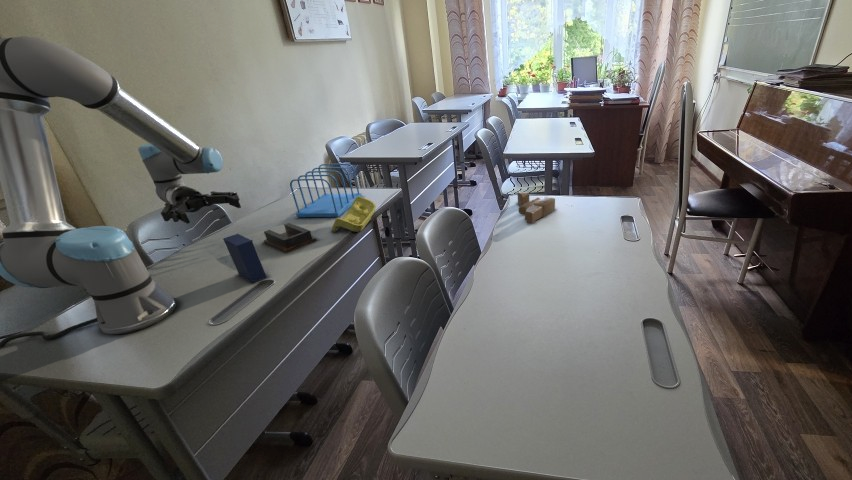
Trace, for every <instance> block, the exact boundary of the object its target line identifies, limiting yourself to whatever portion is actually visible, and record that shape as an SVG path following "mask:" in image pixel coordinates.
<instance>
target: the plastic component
mask: <svg viewBox="0 0 852 480" xmlns="http://www.w3.org/2000/svg"><path fill="white" fill-rule="evenodd" d="M376 208H377V205H376V204H375V202H373V201H372V200H370V199H368V198H365V197H363V196H362V197H360V196H358V197H356V199H355V200H354V202H353V204H352V206H350V207H349V208H348V209H347V212H346V213H345V215H344V216H343V217H342V218H341V217H336V218H335V220H334V222H333V224H332V227H331V232H333V233H335V232H337V231H338V230H339V229H340V227H341V228H343V229H346V230H348V231H351V232H354V233H360V232H363V229H364V228H365V227H366V226H367V225H368V224H369V222H370V221H371V219H372V216H373V215H374V213H375V211H376Z"/></svg>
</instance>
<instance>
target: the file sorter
mask: <svg viewBox="0 0 852 480" xmlns="http://www.w3.org/2000/svg"><path fill="white" fill-rule="evenodd" d="M326 166H327V167H326ZM342 166H348V167H350V168H351V169H352V172H353V173H352V174H353V178H354V182H355V185H356V186H355V187H356V191H357V193H356V192H354V190H353V186H352V183H351V177H350V174H349V171H348V170H347V168H346V167H342ZM337 169H341V170H344V171H345V173H346V175H347V179H348V180H347V181H348V184H349V187H350V193H349V192H347V188H346V183H345V179H344V176H343V174H342V173H341V172H340V171H338V170H337ZM315 173H317V174H315ZM322 173H337V174H338V175H339V176H340V178H341V182H342V186H343V190H344V193H340V189H339V185H338V181H337V179H336V177H335V176H333V175H332V174H322ZM302 177H303V178H302ZM309 177H312V178H309ZM315 177H319V178H315ZM323 177H330V178H331V179H333V180H334V183H335V187H336V191H337V193H333V191H332V186H331V183H330V182H329V180H327V179H325V178H323ZM296 181H297V185H298V189H299V192H300V195H301V199H302V201H303V205H304V207H303V208H302V209H300V208H299V203H298V202H297V197H296V194H295V192H294V188H293V182H296ZM301 181H305V183H306V186H307V190H308V193H309V197H310V200H311V203H309V204H308V205H307V203H306V199H305V195H304V193H303V190H302V189H303V188H302V185H301ZM309 181H313V183H314V188H315V191H316V194H317V198H316V199H315V200H314V198H313V194H312V191H311V188H310V184H309ZM317 181H320V182H321V186H322V190H323V194H322V195H320V193H319V190H318V186H317ZM324 182H325V183H327V186H328V188H329V193H327V191H326V188H325V184H324ZM289 187H290V190H291V195H292V198H293V201H294V203H295V207H296V210H297V212H296V213H295V215H296V218H340V216H341V215H343V214H344V213H345V212H346V211H348V210H349V209H350V207H351V206H352V204H353V202H354V200H355V199H356V197H358V196H360V197H363V195H362V193H361V192H360V190H359V185H358V181H357V175H356V171H355V168H354V166H353V165H352V164H350V163H322V164H320V165H319V166H318V167H314V168H313V169H312V170H309V171H307V172H305V174H302V175H299V176H298V177H297V178H295V179H294V178H293V179H291V180H290V182H289Z"/></svg>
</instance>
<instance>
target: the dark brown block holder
mask: <svg viewBox="0 0 852 480" xmlns="http://www.w3.org/2000/svg"><path fill="white" fill-rule="evenodd" d="M283 227H284V229H285V232H282V233H278V232H276V231H274V230H271V229H267V230H264V231H263V234H264V236H265V239H263V243H264V244H266V245H269V246H271V247H273V248H275V249H277V250H279V251H283V252H284V253H288V252H292V251H294V250H296V249H299V248H301V247H304V246H306V245H308V244H311V243H314V242H316V241H317V238H316V237H314V236H312V232H311V230H310V229H307V228H304V227H301V226H300V225H299V226H298V225H296V224H293V223H291V222H288V223H285V224H283Z"/></svg>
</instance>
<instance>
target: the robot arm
mask: <svg viewBox="0 0 852 480" xmlns="http://www.w3.org/2000/svg"><path fill="white" fill-rule="evenodd" d="M118 81H119V80H117V79H116V78H115V77H114V76H113V75H111V74H110V73H109V72H107V71H106V70H105V69H103V68H102V67H100V66H98V64H96V63H95V62H93V61H91V60H89V58H86V57H84V56H83V55H81V54H79V53H77V52H75V51H73V50H71V49H69V48H67V47H65V46H63V45H61V44H59V43H56V42H54V41H50V40H47V39H44V38H39V37H36V36H15V37H14V36H13V37H0V186H1V191H2V195H3V200H4V202H5V203H4V204H5V208H6V211H7V215H8V220H9V225H7V226H6V227H5V228H4V229H3V230H1V236H2V240H3V241H2V242H1V243H0V277H2V278H3V279H4V280H5V281H7V282H10V283H12V284H13V285H16V286H18V287H22V288H23V287H24V288H35V289H49V288H58V287H60V288H61V287H79V286H83V287H84V288H85V290H86V292H87V293H88V294H89V296H90V297H91V298H92V300H93V302H94V307H95V308H94V309H95V314H96V317H95V318H91V319H88V320H86V321H83V322H80V323H77V324H75V325H72V326H69V327H66V328H65V329H63V330H61V331H60V330H59V331H58V332H56V333H54V334H48V333H47V331H43V330H40V331H39V330H38V331H28V332H27V331H26V332H21V333H17V334H12V335H10V336H7V337H5V338H4V339H2V340H0V348H3V347H5V346H6V345H7V344H8V343H9V342H11V341H13V340H17V339H20V338H27V337H39V336H41V338H42V339H43V340H48V341H49V340H53V339H54V340H55V339H57V338H59V337H62V336H63V335H66V334H68V333H70V332H72V331H75V330H78V329H80V328H83V327H86V326H89V325H92V324H95V323H97V325H98V327H99V328H100V330H101V331H102V332H103V333H105V334H107V335H123V334H128V333H132V332H136V331H140V330H143V329H145V328H148V327H151V326H153V325H155V324H157V323H159V322H161V321H162V320H164V319H165V318H168V317H169V316H170V315H171V314H172V313H173V312H174V311H175V310H176V308H177V303H176V301H175V299H174V297H173V296H171V295H170V294H169V293H168V292H167V291H166V290H165V289H164V288H162V287H161V286H160V285H158V284H157V283H156V282H155V281H154V280H153V278H152V276H151V274H150V273H149V271H148V270H147V267H146V265H145V264H144V262H143V260H142V258H141V257H140V255H139V252H138V251H137V249H136V247H135V245H134V242H133V241H132V240H130V238H129V237H128V235H127V234H126V233H125V231H123V230H122V229H121V228H118V227H115V226H109V225H95V226H93V225H92V226H89V227H80V228H76V227H75V226H73V225H71V224H69V223H68V222H67V219H66V215H65V211H64V206H63V202H62V201H63V200H62V197H61V193H60V188H59V184H58V179H57V175H56V174H57V173H56V171H55V170H56V169H55V166H54V165H55V164H54V160H53V157H52V152H51V151H52V150H51V147H50V143H49V138H48V134H47V129H46V125H45V119H44V118H45V117H46V116H47V115H49V114H50V113H51V112H52V107H51V104H50V98H62V99H67V100H71V101H74V102H76V103H78V104H79V105H81V106H83V107H84V108H86V109H89V110H97V111H99V112H100V113H102V114H103V115H104V116H106V117H108V118H109V119H111V120H112V121H114V122H115V123H117V124H119V125H120V126H122V127H123V128H125V129H126V130H128V131H129V132H131V133H132V134H134V135H136V136H137V137H139V138H140V139H142V140H144V141H145V142H147V144H143V145H140V146H139V147H138V149H137V151H138V153H139V155H140V158H141V161H142V163H143V164H144V166H145V168H146V170H147V172H148V174H149V176H150V178H151V180H152V182H153V184H154V186H155V194H156V196H157V198H159V199H160V201H162V202H164V207H163V209H162V210H161V211H160V215H161V217H162V219H163V220H164V222H169V221H170V220H171V219H172V221H173V222H174V223H178V222H180V221H181V222H183V223H185V224H186V225H188V224H190V223H191V221H190V219H189V217H188V215H187V213H197V212H199V211H200V210H201V209H202V208H205V207H211V206H213V205H223V204H228V205H229V206H232V207H234V208H237V209H241V208H242V206H241V204H240V197H239V194H238V192H235V191H216V190H215V191H210V194H209V193H205V194H202V193H201V192H200V191H199V190H197V189H195V188H192V187H190V186H187V185H186V183H185V182H184V179H183V176H182V175H195V174H207V175H208V174H213V173H218V172H220V171H221V170H222V169H223V165H224V160H223V157H222V155H221V153H220V152H219V150H217V149H216V148H214V147H207V146H205V147H201V146H200V144H199V145H198V144H197V143H196V142H195V141H194V140H192V139H191V138H190V137H188V136H187V135H185V134H184V133H183V132H181V131H180V130H179V129H178V128H176V127H174V126H173V125H172V124H171V123H169V122H168V121H166V120H165V119H164V118H162V117H161V116H160V115H158V114H157V113H156V112H155V111H153V110H152V109H150V108H149V107H148V106H146V105H145V104H143V103H142V102H141V101H140V100H138V99H137V98H136V97H134V96H133V95H132V94H130V93H128V92H127V91H126V90H124V89H123V88H122V87H121V86H120V84H119V82H118Z"/></svg>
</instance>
